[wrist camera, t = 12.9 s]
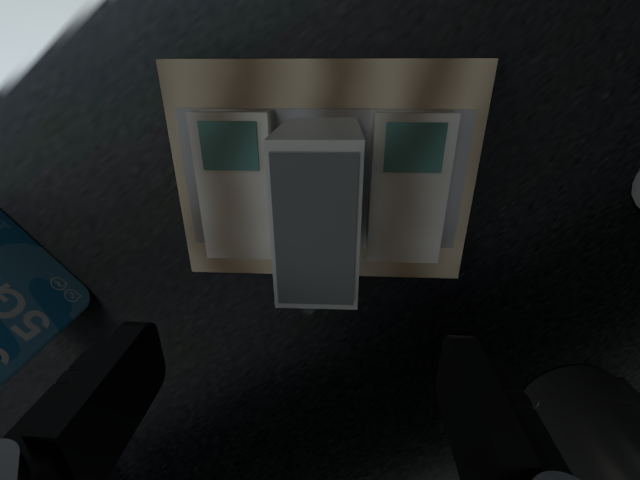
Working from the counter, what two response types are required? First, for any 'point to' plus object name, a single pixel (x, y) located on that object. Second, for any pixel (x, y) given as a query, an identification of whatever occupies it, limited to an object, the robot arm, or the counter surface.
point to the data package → (32, 298)
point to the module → (315, 211)
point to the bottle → (636, 189)
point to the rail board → (379, 155)
